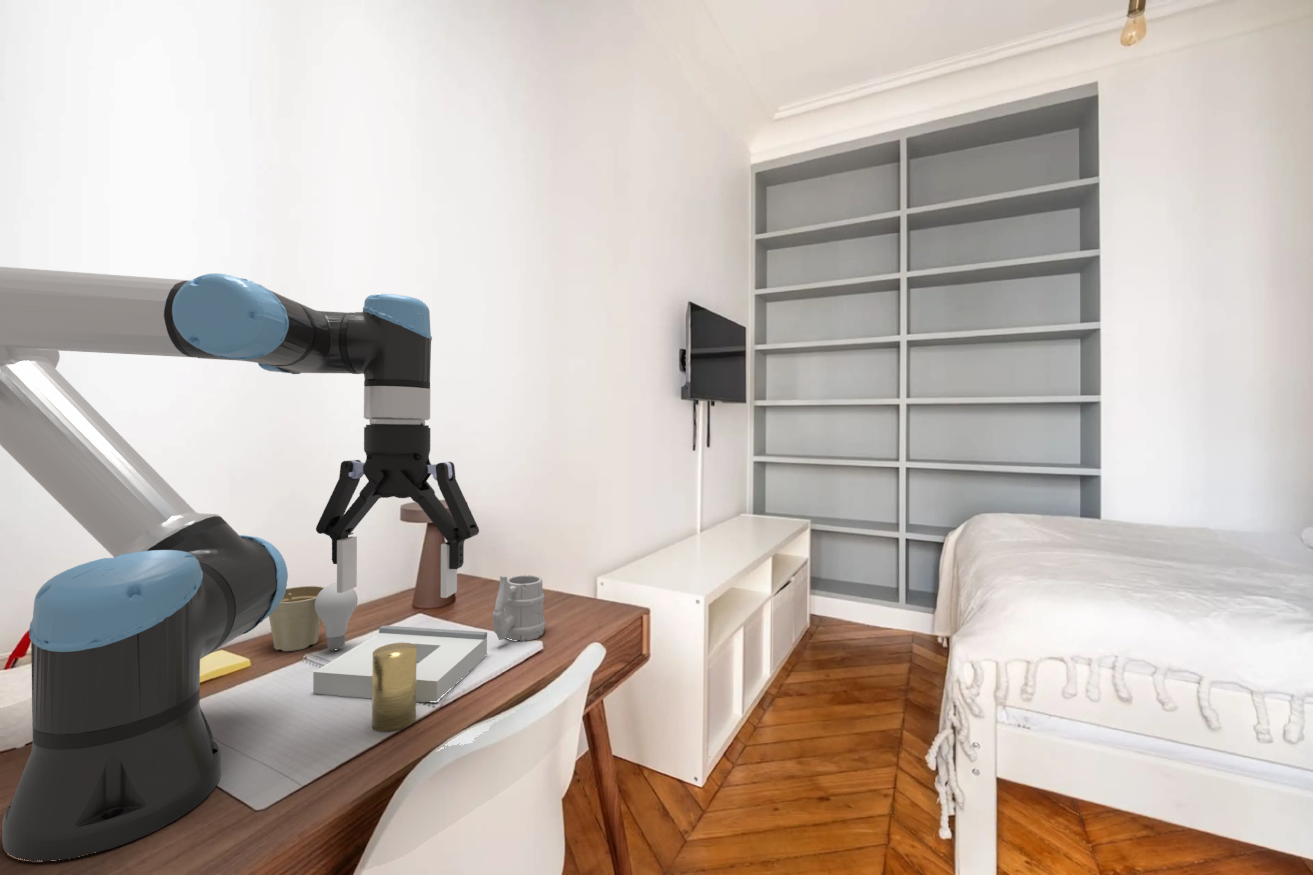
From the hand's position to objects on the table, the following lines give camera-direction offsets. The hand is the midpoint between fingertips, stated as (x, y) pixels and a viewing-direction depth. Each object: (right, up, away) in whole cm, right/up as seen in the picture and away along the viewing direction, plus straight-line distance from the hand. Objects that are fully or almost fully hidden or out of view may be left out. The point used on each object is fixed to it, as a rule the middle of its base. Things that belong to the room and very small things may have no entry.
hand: (397, 592), depth 70 cm
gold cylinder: (-1, -16, 0) cm, 16 cm away
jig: (-5, -16, +14) cm, 22 cm away
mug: (+8, -16, +28) cm, 34 cm away
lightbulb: (-20, -16, +22) cm, 34 cm away
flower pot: (-28, -16, +24) cm, 40 cm away
